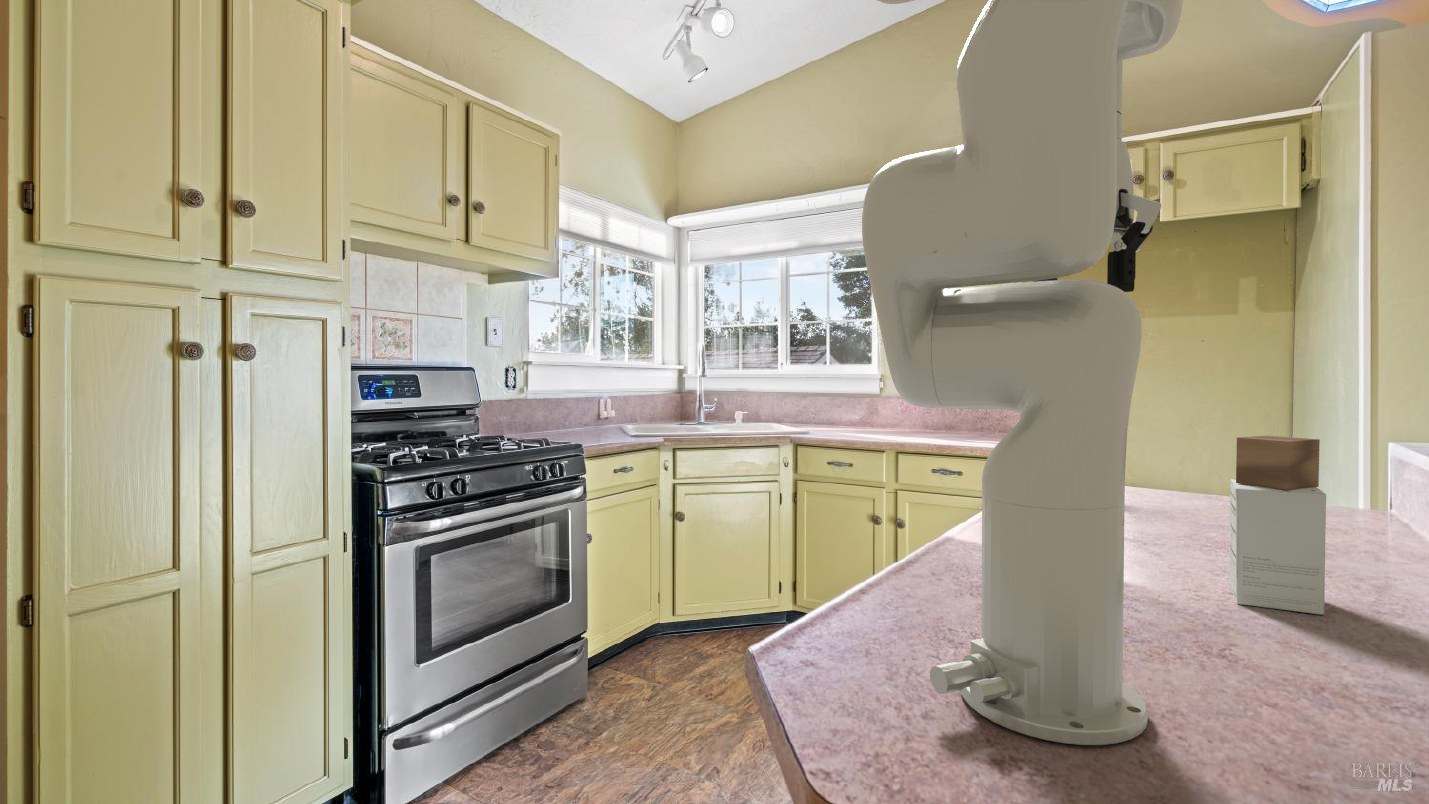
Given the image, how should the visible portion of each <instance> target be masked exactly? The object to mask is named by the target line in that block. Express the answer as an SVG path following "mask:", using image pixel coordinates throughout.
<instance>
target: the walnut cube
mask: <svg viewBox="0 0 1429 804" xmlns="http://www.w3.org/2000/svg"><path fill="white" fill-rule="evenodd" d="M1320 441H1321V440H1320V439H1318V438H1305V437H1294V436H1293V437H1289V436H1276V435H1275V436H1274V435H1257V436H1256V435H1255V436H1240V437H1236V459H1235V460H1236V463H1235V464H1236V468H1235V473H1236V474H1235V480H1236V483H1240V484H1247V485H1255V486H1262V487H1269V488H1277V489H1284V490H1292V489H1302V488H1312V487H1317V488H1318V487H1319V483H1320V481H1319V480H1320V475H1319V474H1320Z"/></svg>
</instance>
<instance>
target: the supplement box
mask: <svg viewBox="0 0 1429 804" xmlns="http://www.w3.org/2000/svg"><path fill="white" fill-rule="evenodd" d="M1229 482H1230V483H1229V484H1230V485H1229V492H1230V493H1229V497H1230V498H1229V560H1228V561H1229V562H1228V564H1229V565H1228V566H1229V567H1228V568H1229V569H1228V583H1229V587H1230V590H1231V593H1232V595H1233V598H1234V600H1235V602H1236V604H1237V605H1244V606H1251V607H1252V606H1253V607H1259V608H1260V607H1261V608H1266V609H1267V608H1268V609H1276V610H1281V611H1282V610H1283V611H1291V612H1299V613H1308V614H1314V615H1325V593H1326V592H1325V587H1326V586H1325V585H1326V583H1325V578H1326V574H1325V573H1326V571H1325V570H1326V524H1327V523H1326V521H1327V518H1326V517H1327V493H1325V492H1324V491H1323V490H1322V489H1320V488H1318V487H1312V488H1302V489H1292V490H1284V489H1277V488H1269V487H1262V486H1255V485H1247V484H1240V483H1236V478H1235V479H1233V478H1231V479H1230V481H1229Z"/></svg>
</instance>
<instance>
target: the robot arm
mask: <svg viewBox="0 0 1429 804" xmlns="http://www.w3.org/2000/svg"><path fill="white" fill-rule="evenodd" d="M877 1H878V2H880V3H883V4H887V5H898V4H905V3H906V4H907V3H909V2H913V1H915V0H877ZM1183 1H1184V0H988V2H987V3H986V4H985V6H984V8H983V9H982V12H981V13H980V15H979V17H978V18H977V21H976V22H975V24H974V26H973V28H972V30H971V32H970V35H968V36H969V37H968V38H967V40H966V42H965V44H964V47H963V49H962V52H961V53H960V56H959V59H958V64H957V68H956V76H955V78H956V79H955V80H956V91H957V97H958V104H959V112H960V113H959V114H960V115H959V116H960V122H961V130H962V144H961V145H956V146H950V147H944V148H939V149H933V150H929V151H923V152H918V153H914V154H908V155H905V156H902V157H899V158H898V159H897V158H896V159H893V160H892V161H891V162H888V163H887V164H885V165H884V166H883V167H881V168H880V170H878V171H877V173H875V174H874V176H873V177H872V178H871V181H870V183H869V185H868V187H867V189H866V193H865V196H864V200H863V207H862V215H861V233H862V234H861V237H862V246H863V253H864V258H865V264H866V265H865V266H866V271H867V276H868V281H869V284H870V289H871V293H872V298H873V302H874V307H875V312H876V316H877V321H878V325H879V329H880V335H881V338H882V339H881V340H882V343H883V348H884V352H885V357H886V361H887V365H888V369H889V373H890V376H891V380H892V382H893V385H894V387H895V389H896V391H897V392H898V394H899V396H900V397H901V398H902V399H904V401H906V402H907V403H909V404H910V405H913V406H916V407H922V408H929V409H942V410H943V409H944V410H945V409H949V410H950V409H951V410H954V409H955V410H957V409H958V410H960V409H961V410H966V409H967V410H1000V411H1003V412H1004V411H1007V412H1008V411H1009V412H1016V413H1018V414H1020V417H1019V421H1018V422H1017V423H1016V424H1015V426H1014V427H1013V428H1012V429H1011V430H1010V431H1009V432H1008V433H1006V434H1005V435H1004V437H1003V438H1002V439H1001V440H1000V441H999V442H998V443H997V444H996V445H995V447H993V449H992V450H991V451H990V453H989V455H988V457H987V458H986V460H985V462H984V466H983V470H982V476H981V638H976V639H971V640H970V654H967V655H965V656H964V658H963V659H962V661H960V662H955V661H953V662H948V663H943V664H937V665H934V666H932V667H931V668H930V670H929V680H930V682H931V686H932V688H933V689H934V690H935V691H936V693H938V694H940V695H946V694H949V693H950V694H951V693H954V692H958V691H960V693H961V696H962V697H963V699H964V701H965V702H966V703H967V704H968V705H969V706H970V707H971V708H972V709H973V710H974V711H975V712H977V713H978V714H979V715H981V716H983V717H984V718H986V719H988V720H989V721H991V722H993V723H994V724H997V725H999V726H1002V727H1003V728H1006V729H1007V730H1011V731H1014V732H1016V733H1019V734H1022V735H1025V736H1028V737H1032V738H1036V739H1039V740H1044V741H1050V742H1055V743H1061V744H1066V745H1067V744H1068V745H1076V746H1078V745H1079V746H1105V745H1115V744H1120V743H1123V742H1124V743H1125V742H1127V741H1129V740H1132V739H1134V738H1136V737H1138V736H1140V735H1141V734H1142V733H1143V732H1144V731H1145V730H1146V728H1147V727H1148V719H1149V718H1148V717H1149V716H1148V715H1149V714H1148V705H1147V703H1146V701H1145V699H1144V698H1143V696H1141V695H1140V694H1139V692H1137V690H1136V689H1134V688H1133V687H1132V686H1131V685H1129V684H1127V683H1126V682H1124V681H1123V678H1124V677H1123V675H1124V674H1123V670H1124V669H1123V668H1124V667H1123V666H1124V662H1123V660H1124V600H1125V599H1124V593H1125V591H1124V587H1125V586H1124V585H1125V580H1124V579H1125V574H1124V573H1125V512H1126V511H1125V510H1126V509H1125V508H1126V506H1125V503H1126V500H1125V499H1126V498H1125V497H1126V496H1125V495H1126V494H1125V493H1126V465H1127V463H1126V461H1127V441H1128V430H1129V429H1128V428H1129V419H1130V413H1131V406H1132V400H1133V394H1134V393H1133V392H1134V388H1135V381H1136V376H1137V370H1138V364H1139V359H1140V355H1141V347H1142V337H1143V330H1142V319H1141V314H1140V311H1139V308H1138V306H1137V304H1136V302H1135V301H1134V300H1133V298H1131V296H1129V294H1128V293H1131V292H1132V293H1133V292H1134V291H1135V280H1136V272H1137V271H1136V259H1137V257H1136V256H1137V255H1136V254H1137V253H1139V252H1140V251H1141V250H1142V248H1143V243H1144V242H1145V241H1146V239H1147V238H1148V236H1150V234H1151V233H1152V231H1153V229H1154V228H1153V224H1154V223H1155V221H1156V219H1157V217H1158V215H1159V212H1160V211H1161V208H1162V202H1160V201H1156V200H1154V199H1150V198H1146V197H1143V196H1139V195H1136V194H1135V192H1134V191H1135V190H1134V181H1133V171H1132V164H1131V160H1130V153H1129V150H1128V146H1127V143H1126V142H1125V141H1123V140H1122V137H1123V131H1122V130H1123V66H1124V65H1123V63H1124V62H1123V60H1129V59H1133V58H1134V59H1135V58H1137V57H1142V56H1146V55H1150V54H1152V53H1154V52H1157V51H1159V50H1160V49H1163V48H1164V47H1165V46H1166V45H1168V43H1169V42H1170V41H1171V40H1172V39H1173V37H1174V36H1175V35H1176V32H1177V29H1178V28H1179V24H1180V21H1181V16H1182V11H1183V5H1184V4H1183ZM1135 211H1136V212H1137V213H1136V217H1135ZM1134 218H1135V219H1136V220H1134ZM1109 247H1111V248H1112V249H1113V251H1108V253H1107V250H1109V249H1108V248H1109ZM1106 253H1107V271H1106V272H1107V275H1106V276H1107V278H1106V279H1107V280H1106V281H1107V282H1102V281H1096V280H1090V279H1089V280H1088V279H1059V278H1064V277H1069V276H1071V275H1072V276H1073V275H1075V274H1078V273H1079V274H1080V273H1081V272H1084V271H1086V270H1088V269H1090V268H1091V267H1093V266H1095V265H1096V264H1097V263H1098V262H1099V261H1100V260H1102V258H1103V257H1104V256H1105V254H1106Z"/></svg>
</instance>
